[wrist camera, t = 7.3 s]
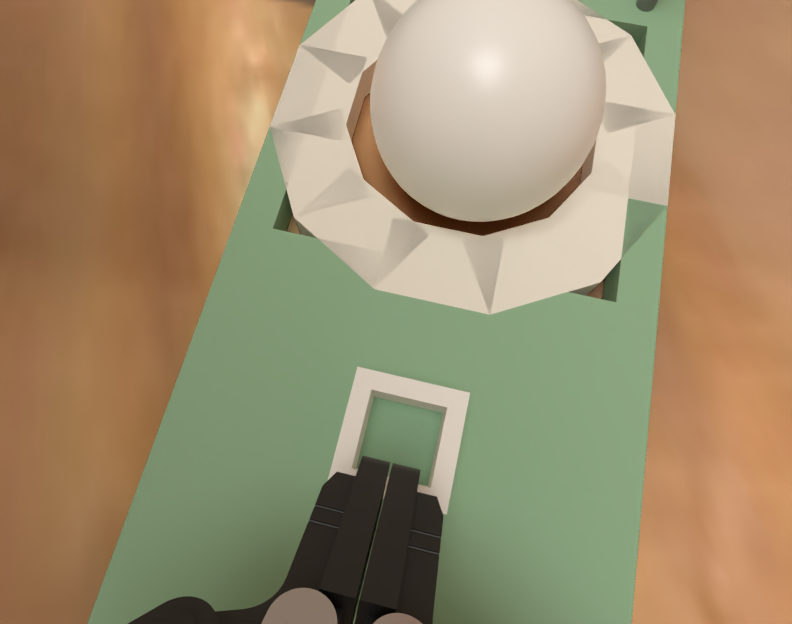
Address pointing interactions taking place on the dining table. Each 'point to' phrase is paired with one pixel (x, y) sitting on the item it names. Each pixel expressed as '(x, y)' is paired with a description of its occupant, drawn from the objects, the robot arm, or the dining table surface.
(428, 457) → the mini golf board
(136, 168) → the dining table surface
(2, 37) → the dining table surface
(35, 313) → the dining table surface
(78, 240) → the dining table surface
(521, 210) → the ball
